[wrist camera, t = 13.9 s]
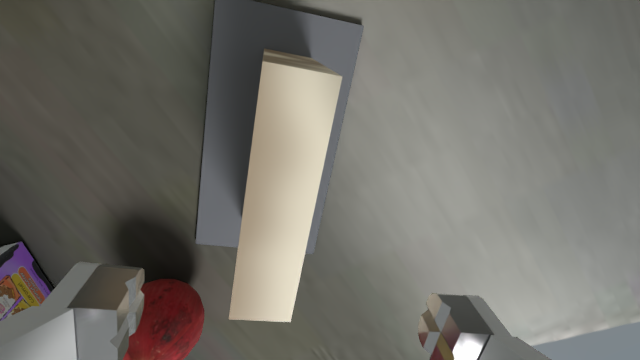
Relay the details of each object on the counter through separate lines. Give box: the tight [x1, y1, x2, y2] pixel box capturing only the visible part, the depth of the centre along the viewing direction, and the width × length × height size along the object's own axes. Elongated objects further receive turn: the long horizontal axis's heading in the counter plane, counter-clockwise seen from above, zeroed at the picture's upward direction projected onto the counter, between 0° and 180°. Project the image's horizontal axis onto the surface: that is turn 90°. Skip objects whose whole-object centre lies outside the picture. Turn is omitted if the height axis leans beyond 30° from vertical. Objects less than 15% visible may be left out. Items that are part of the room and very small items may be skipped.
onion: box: [123, 279, 204, 360], centre depth 24 cm, size 6×6×8 cm
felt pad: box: [196, 0, 364, 254], centre depth 24 cm, size 9×17×1 cm, turn 169°
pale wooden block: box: [229, 49, 342, 322], centre depth 20 cm, size 3×12×10 cm, turn 169°
